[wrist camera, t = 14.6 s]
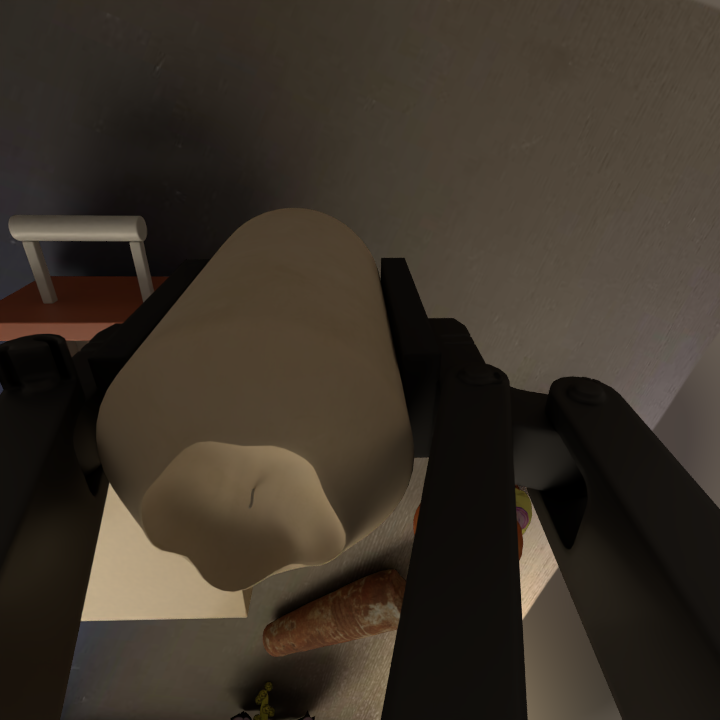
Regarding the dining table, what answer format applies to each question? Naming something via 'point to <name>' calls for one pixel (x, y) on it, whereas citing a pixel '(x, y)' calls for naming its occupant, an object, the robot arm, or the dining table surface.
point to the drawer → (75, 280)
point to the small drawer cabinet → (148, 578)
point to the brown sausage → (340, 615)
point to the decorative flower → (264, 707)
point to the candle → (264, 407)
